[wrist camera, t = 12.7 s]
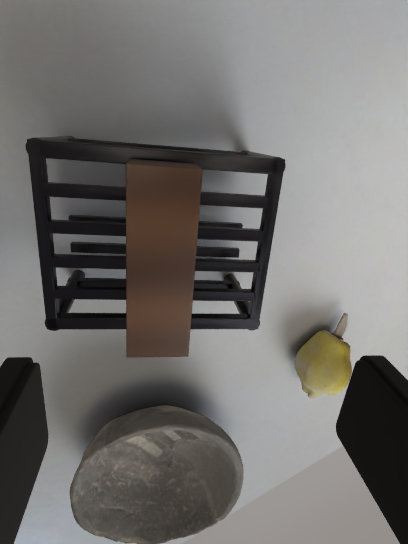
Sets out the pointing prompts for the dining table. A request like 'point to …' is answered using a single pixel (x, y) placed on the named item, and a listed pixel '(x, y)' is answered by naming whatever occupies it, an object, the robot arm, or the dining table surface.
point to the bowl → (156, 477)
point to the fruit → (325, 362)
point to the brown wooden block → (160, 255)
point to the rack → (111, 288)
